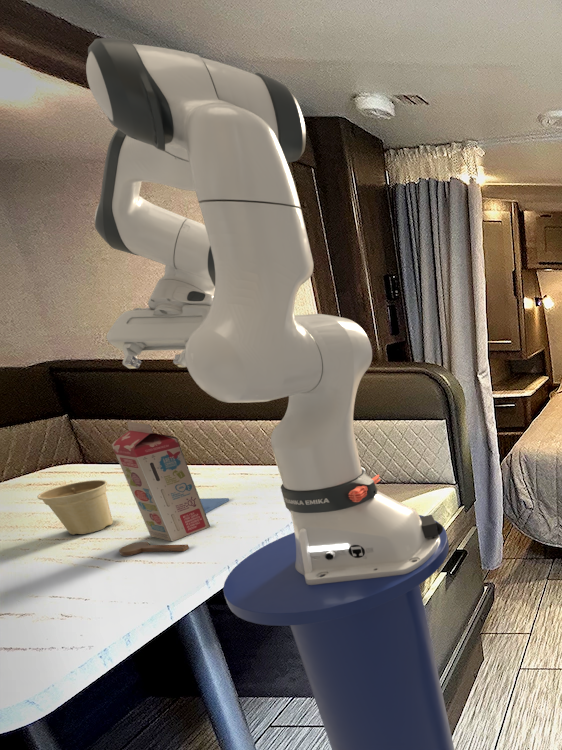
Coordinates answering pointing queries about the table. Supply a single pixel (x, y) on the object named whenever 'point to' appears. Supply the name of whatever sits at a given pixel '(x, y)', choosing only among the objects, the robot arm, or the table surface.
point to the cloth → (212, 503)
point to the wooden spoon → (149, 548)
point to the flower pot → (80, 506)
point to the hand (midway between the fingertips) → (155, 366)
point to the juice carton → (160, 482)
